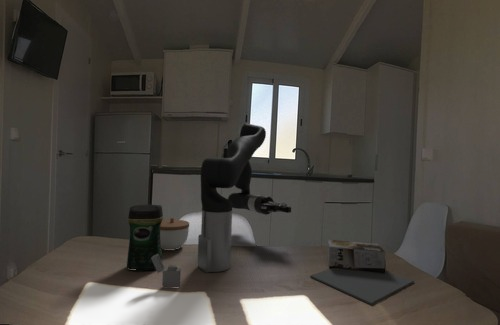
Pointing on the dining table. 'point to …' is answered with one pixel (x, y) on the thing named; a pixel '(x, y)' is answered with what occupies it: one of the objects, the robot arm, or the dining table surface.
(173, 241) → the lidded bowl
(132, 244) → the coffee jar
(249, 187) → the robot arm
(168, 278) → the lighter
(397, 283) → the rubber mat
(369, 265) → the coffee box
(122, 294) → the dining table surface
